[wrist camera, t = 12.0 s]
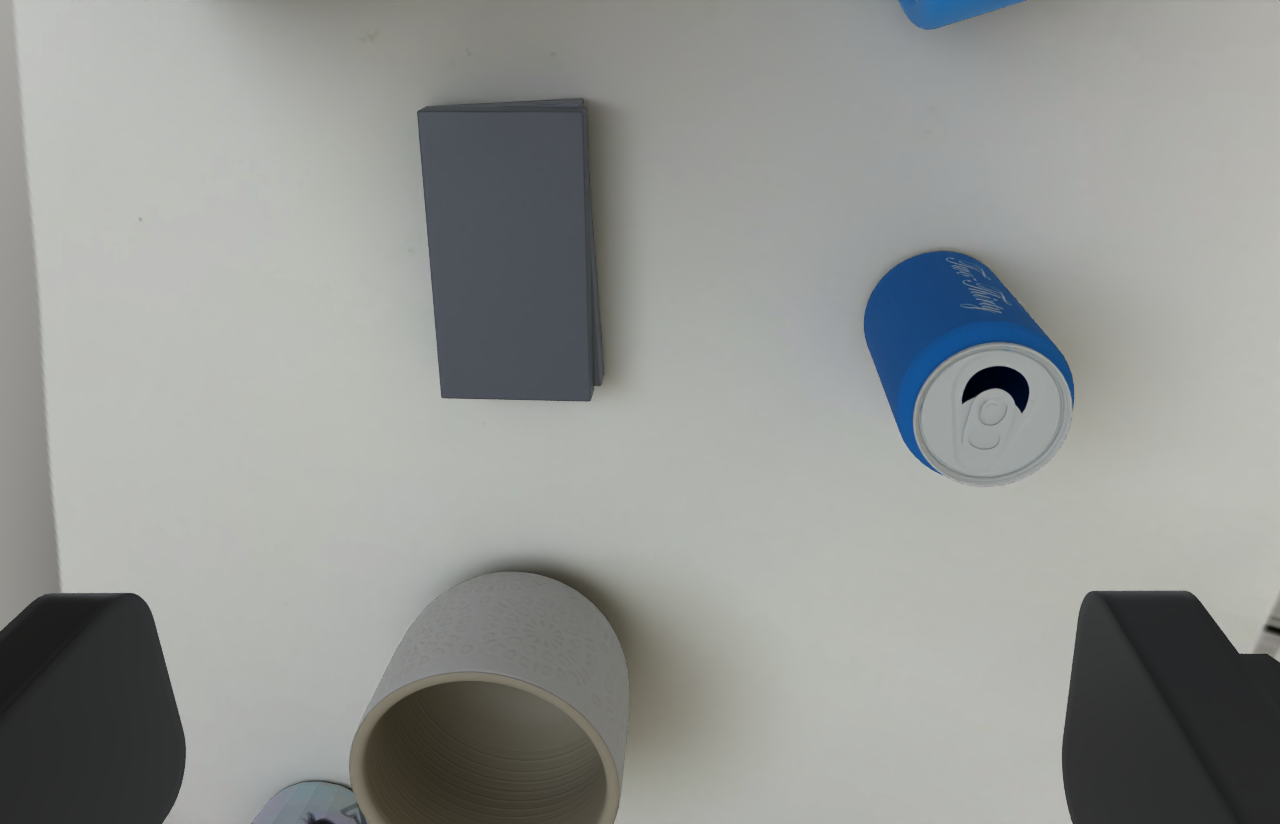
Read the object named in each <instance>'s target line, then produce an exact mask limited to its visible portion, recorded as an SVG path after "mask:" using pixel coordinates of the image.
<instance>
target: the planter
mask: <svg viewBox="0 0 1280 824" xmlns="http://www.w3.org/2000/svg"><path fill="white" fill-rule="evenodd" d="M629 701H630V690H629V679H628V670H627V664H626V660H625V657H624V653H623V651H622V648H621V645H620V643H619V640H618V638H617V636H616V634H615V632H614V630H613V628H612V627H611V625H610V624H609V622H608V621H607V619H606V618H605V617H604V615H603V614H602V613H601V612H600V611H599V609H598V608H597V607H596V606H595V605H594V604H593V603H592V602H590V601H589V600H588V599H587V598H586V597H585V596H583V595H582V594H580V593H579V592H578V591H576V590H574V589H573V588H571V587H569V586H567V585H565V584H563V583H561V582H559V581H557V580H554V579H551V578H549V577H545V576H542V575H538V574H533V573H526V572H496V573H490V574H485V575H481V576H477V577H474V578H471V579H469V580H466V581H464V582H462V583H460V584H458V585H456V586H454V587H452V588H451V589H449V590H447V591H446V592H444V593H443V594H442V595H440V596H439V597H438V598H436V599H435V600H434V601H433V602H432V603H430V604H429V605H428V606H427V607H426V608H425V609H424V610H423V611H422V612H421V614H420V615H419V616H418V617H417V619H416V620H415V621H414V623H413V624H412V625H411V627H410V628H409V629H408V631H407V632H406V634H405V635H404V637H403V639H402V641H401V643H400V644H399V646H398V648H397V650H396V652H395V653H394V655H393V657H392V659H391V661H390V663H389V665H388V667H387V669H386V671H385V673H384V675H383V677H382V679H381V681H380V683H379V685H378V687H377V690H376V692H375V694H374V696H373V698H372V700H371V701H370V703H369V705H368V707H367V709H366V711H365V713H364V715H363V717H362V720H361V722H360V724H359V726H358V728H357V731H356V733H355V736H354V739H353V742H352V746H351V750H350V758H349V772H350V780H351V785H352V789H353V792H354V795H355V798H356V800H357V803H358V805H359V807H360V809H361V811H362V813H363V814H364V816H365V818H366V819H367V821H368V822H369V823H370V824H614V821H615V819H616V815H617V812H618V808H619V802H620V796H621V789H622V780H623V768H624V758H625V749H626V741H627V732H628V718H629Z"/></svg>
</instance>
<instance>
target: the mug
mask: <svg viewBox="0 0 1280 824" xmlns="http://www.w3.org/2000/svg"><path fill="white" fill-rule="evenodd" d="M251 824H370V823H369V822H368V821H367V819H366V818H365V816H364V814H363V813H362V811H361V809H360V807H359V805H358V803H357V800H356V798H355V795H354V792H353V791H351V790H349V789H347V788H345V787H343V786H340V785H336V784H331V783H326V782H302V783H299V784H296V785H293V786H290V787H287V788H285V789H283V790H282V791H280V792H279V793H278V794H277V795H275V796H274V797H273V798H271V799H270V800H269V802H268V803H267V804H266V805H265V807H264V808H263V809H262V810H261V812H260V813H259V814H258V815H257V817H256V818H255V819H254V820H253V822H252V823H251Z"/></svg>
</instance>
